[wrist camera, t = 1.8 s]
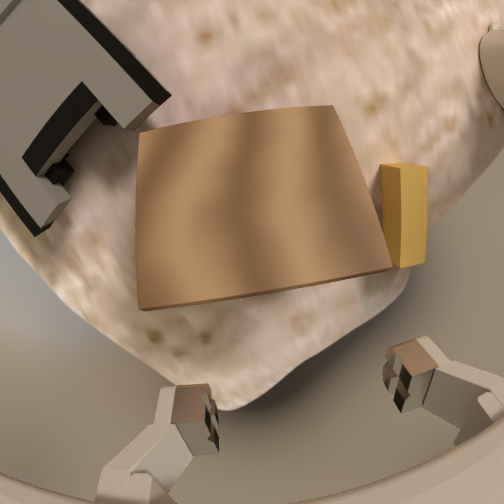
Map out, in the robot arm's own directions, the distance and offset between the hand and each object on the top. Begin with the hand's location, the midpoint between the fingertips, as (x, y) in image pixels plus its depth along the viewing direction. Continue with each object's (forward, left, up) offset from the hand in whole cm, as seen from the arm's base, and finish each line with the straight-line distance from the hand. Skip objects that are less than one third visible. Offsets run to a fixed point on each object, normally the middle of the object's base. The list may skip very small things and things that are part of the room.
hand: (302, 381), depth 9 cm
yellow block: (-19, +3, -27) cm, 33 cm away
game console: (+23, -22, -28) cm, 42 cm away
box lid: (0, -3, -15) cm, 15 cm away
